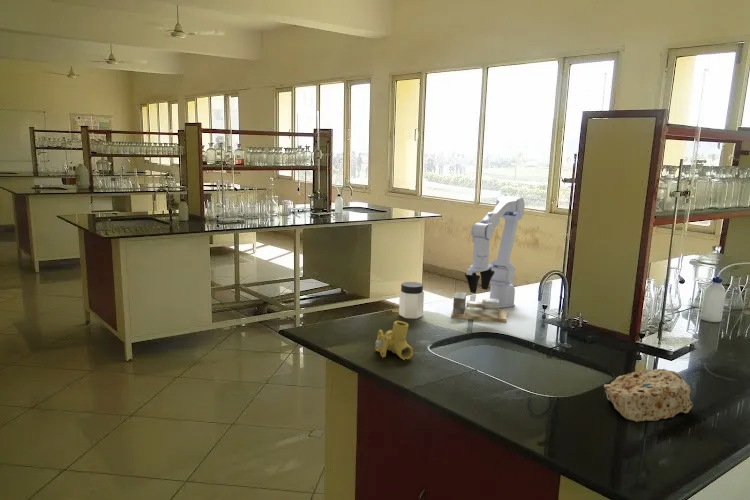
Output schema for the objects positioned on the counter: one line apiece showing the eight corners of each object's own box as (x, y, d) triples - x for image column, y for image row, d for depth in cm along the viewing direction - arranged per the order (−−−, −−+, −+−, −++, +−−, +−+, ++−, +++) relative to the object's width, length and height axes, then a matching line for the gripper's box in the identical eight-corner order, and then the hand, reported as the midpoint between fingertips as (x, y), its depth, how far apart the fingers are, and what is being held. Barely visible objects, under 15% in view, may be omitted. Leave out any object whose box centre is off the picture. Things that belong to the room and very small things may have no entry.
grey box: (498, 311, 213) (499, 298, 212) (498, 317, 205) (498, 304, 204) (482, 310, 214) (482, 297, 213) (481, 316, 206) (482, 303, 205)
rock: (640, 432, 128) (633, 389, 128) (598, 417, 142) (592, 378, 142) (709, 412, 134) (703, 370, 134) (662, 399, 148) (656, 362, 148)
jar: (423, 312, 214) (424, 282, 211) (422, 319, 206) (424, 287, 203) (399, 311, 214) (400, 281, 212) (398, 318, 206) (399, 286, 204)
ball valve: (396, 347, 179) (367, 346, 175) (402, 317, 177) (372, 315, 173) (412, 364, 167) (382, 363, 163) (419, 331, 165) (388, 330, 161)
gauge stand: (505, 313, 216) (507, 295, 214) (506, 322, 204) (507, 303, 203) (453, 308, 220) (454, 290, 219) (451, 317, 208) (452, 298, 207)
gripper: (482, 251, 215) (480, 285, 218) (460, 256, 205) (458, 292, 208) (498, 254, 210) (496, 289, 213) (476, 259, 200) (474, 295, 203)
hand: (478, 290), depth 210 cm, fingers open, 7 cm apart
